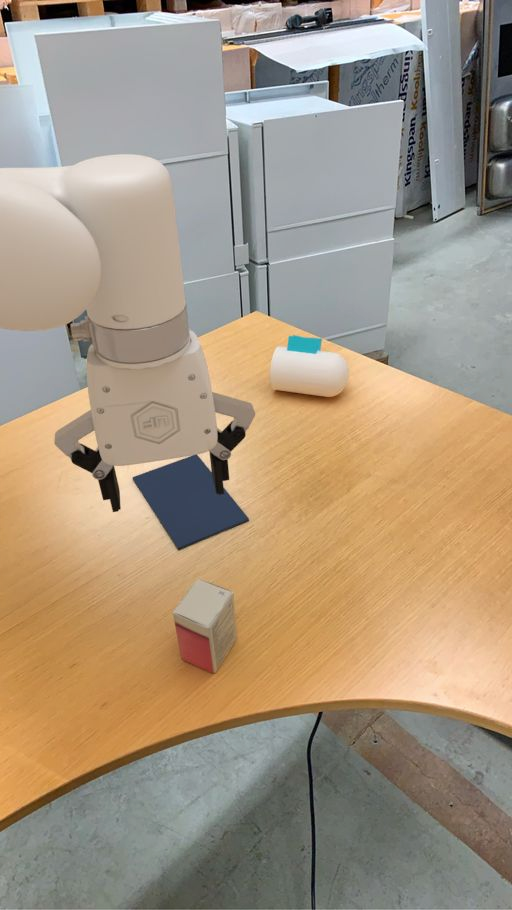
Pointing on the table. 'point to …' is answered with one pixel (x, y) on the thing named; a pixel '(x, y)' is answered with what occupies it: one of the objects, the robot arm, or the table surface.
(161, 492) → the cloth
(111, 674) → the table surface
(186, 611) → the small box
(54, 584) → the table surface
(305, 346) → the white rounded piece
